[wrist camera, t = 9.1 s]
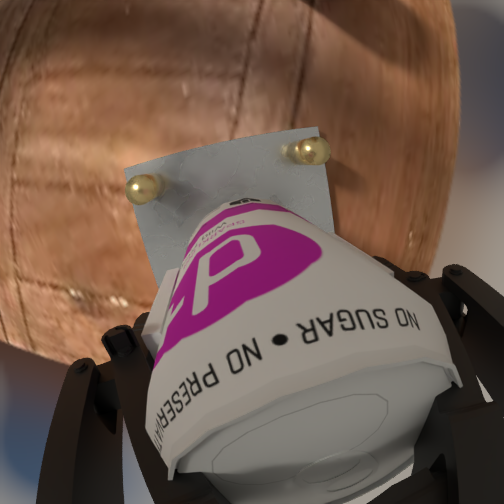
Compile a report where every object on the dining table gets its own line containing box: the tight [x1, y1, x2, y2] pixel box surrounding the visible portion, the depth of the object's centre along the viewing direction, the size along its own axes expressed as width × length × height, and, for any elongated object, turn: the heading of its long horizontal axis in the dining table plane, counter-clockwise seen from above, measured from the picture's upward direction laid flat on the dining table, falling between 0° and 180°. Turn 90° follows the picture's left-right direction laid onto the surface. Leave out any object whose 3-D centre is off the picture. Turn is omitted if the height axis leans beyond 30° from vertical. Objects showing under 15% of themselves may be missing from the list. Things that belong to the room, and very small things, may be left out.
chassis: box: [124, 126, 335, 288], centre depth 21 cm, size 16×16×5 cm
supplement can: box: [145, 197, 463, 504], centre depth 11 cm, size 8×8×15 cm
